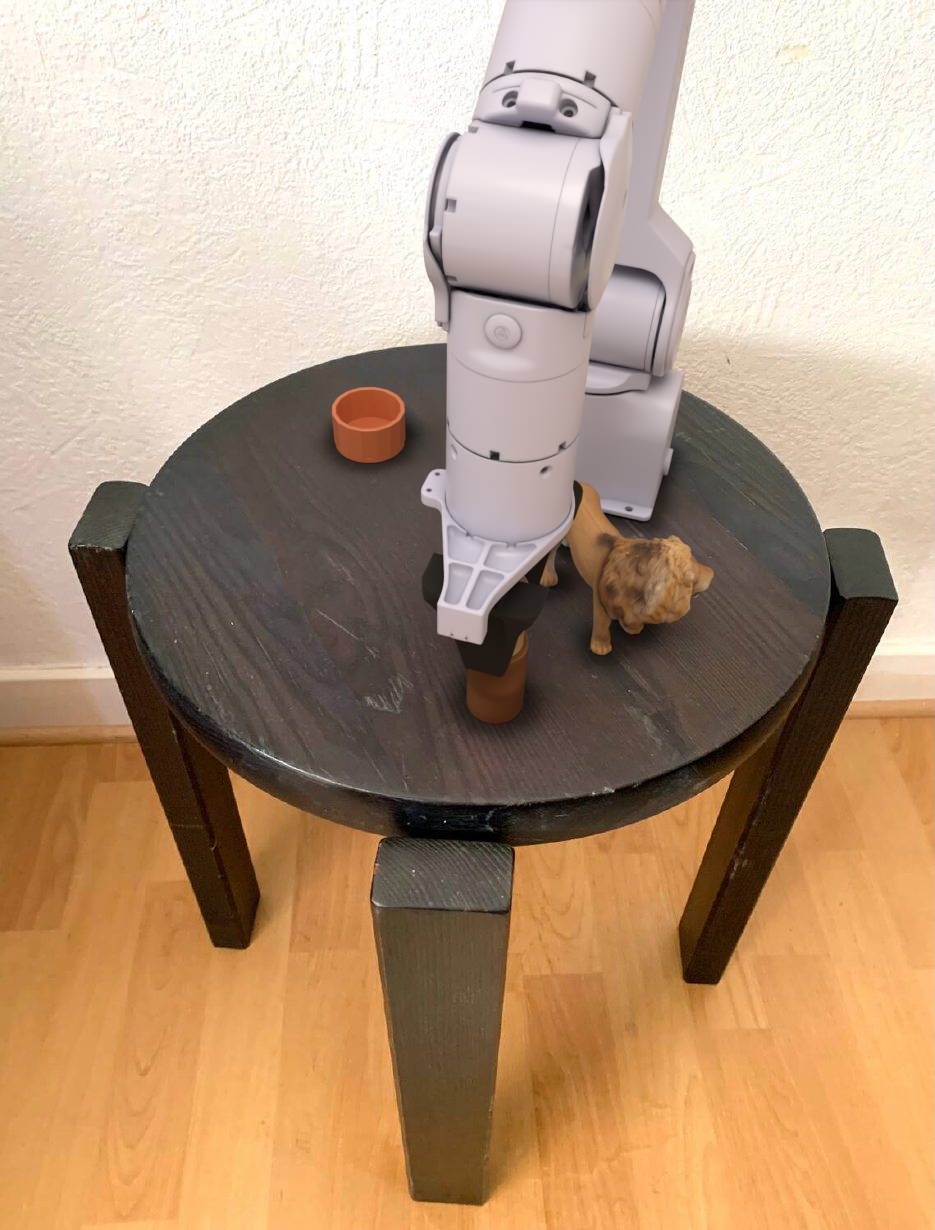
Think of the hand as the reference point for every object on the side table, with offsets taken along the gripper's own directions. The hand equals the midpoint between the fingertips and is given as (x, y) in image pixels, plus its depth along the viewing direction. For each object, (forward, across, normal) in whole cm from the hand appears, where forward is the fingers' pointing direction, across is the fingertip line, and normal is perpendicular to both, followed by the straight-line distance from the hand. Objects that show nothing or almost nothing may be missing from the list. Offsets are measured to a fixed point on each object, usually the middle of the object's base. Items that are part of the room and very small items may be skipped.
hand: (499, 631), depth 54 cm
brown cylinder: (+6, 0, 0) cm, 6 cm away
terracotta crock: (+6, -20, -15) cm, 25 cm away
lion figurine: (+6, -9, +4) cm, 12 cm away
